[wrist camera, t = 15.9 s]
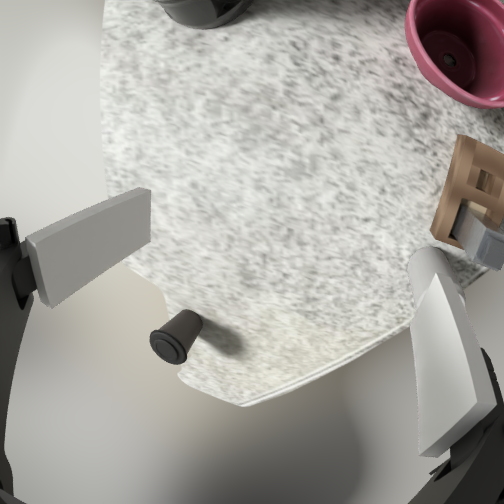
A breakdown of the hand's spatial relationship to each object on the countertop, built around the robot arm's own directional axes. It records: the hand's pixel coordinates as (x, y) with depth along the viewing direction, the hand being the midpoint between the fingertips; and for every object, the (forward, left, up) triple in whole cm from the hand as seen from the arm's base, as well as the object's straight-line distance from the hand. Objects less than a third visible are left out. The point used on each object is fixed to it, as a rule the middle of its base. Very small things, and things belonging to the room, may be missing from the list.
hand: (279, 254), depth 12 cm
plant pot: (-19, +12, -29) cm, 37 cm away
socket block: (-2, +20, -29) cm, 35 cm away
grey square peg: (+1, +20, -28) cm, 34 cm away
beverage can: (+10, +17, -29) cm, 35 cm away
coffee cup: (+35, -19, -29) cm, 49 cm away
